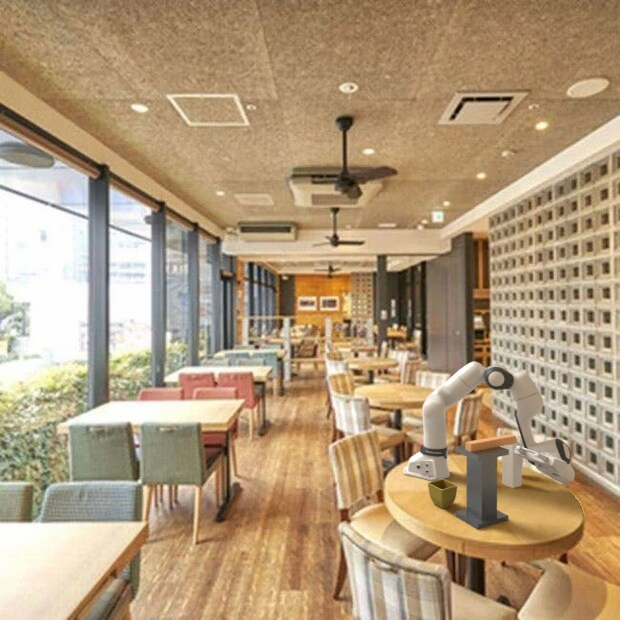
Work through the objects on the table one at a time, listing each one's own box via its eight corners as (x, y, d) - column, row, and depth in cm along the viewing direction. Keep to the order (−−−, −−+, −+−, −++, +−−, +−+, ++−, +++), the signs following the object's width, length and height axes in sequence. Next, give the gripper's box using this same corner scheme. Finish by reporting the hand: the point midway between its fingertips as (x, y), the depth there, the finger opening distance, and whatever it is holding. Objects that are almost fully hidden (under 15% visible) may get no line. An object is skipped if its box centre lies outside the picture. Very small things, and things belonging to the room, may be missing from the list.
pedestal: (477, 529, 177) (477, 455, 176) (455, 516, 188) (455, 446, 187) (508, 520, 184) (508, 449, 183) (485, 508, 195) (485, 441, 194)
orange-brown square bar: (471, 451, 181) (471, 444, 181) (465, 449, 183) (465, 441, 183) (515, 443, 191) (515, 435, 191) (509, 441, 194) (509, 434, 194)
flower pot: (441, 511, 192) (441, 489, 192) (427, 503, 200) (427, 482, 200) (457, 507, 196) (457, 485, 196) (442, 499, 204) (442, 478, 204)
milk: (502, 483, 220) (502, 437, 220) (511, 481, 223) (511, 435, 222) (513, 488, 215) (512, 440, 214) (522, 486, 217) (522, 438, 217)
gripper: (528, 449, 211) (509, 437, 206) (570, 463, 193) (550, 451, 188) (523, 462, 210) (503, 450, 205) (565, 478, 192) (545, 465, 186)
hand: (526, 451), depth 196 cm, fingers open, 8 cm apart
